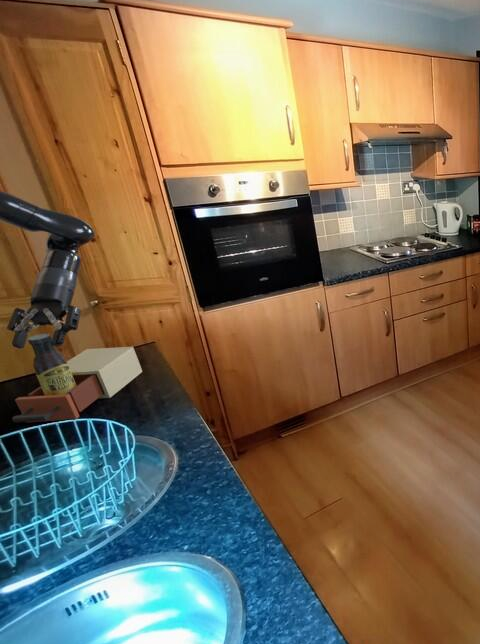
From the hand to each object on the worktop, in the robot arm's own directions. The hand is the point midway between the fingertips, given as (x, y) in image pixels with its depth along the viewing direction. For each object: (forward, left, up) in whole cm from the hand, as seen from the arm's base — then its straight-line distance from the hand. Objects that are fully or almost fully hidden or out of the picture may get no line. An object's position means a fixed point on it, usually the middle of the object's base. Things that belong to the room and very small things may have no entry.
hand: (37, 346), depth 113 cm
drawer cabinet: (+14, 0, -20) cm, 24 cm away
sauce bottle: (+1, 0, -18) cm, 18 cm away
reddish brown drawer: (-1, 0, -19) cm, 19 cm away
